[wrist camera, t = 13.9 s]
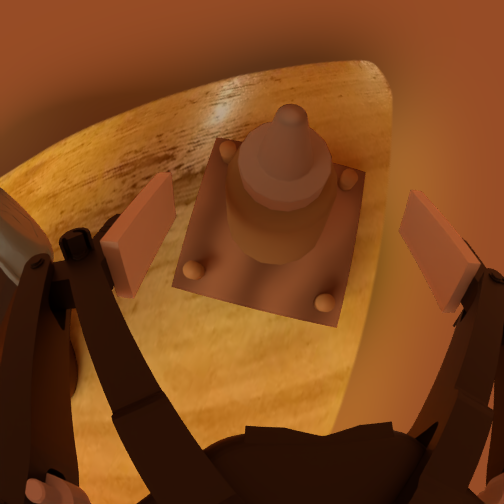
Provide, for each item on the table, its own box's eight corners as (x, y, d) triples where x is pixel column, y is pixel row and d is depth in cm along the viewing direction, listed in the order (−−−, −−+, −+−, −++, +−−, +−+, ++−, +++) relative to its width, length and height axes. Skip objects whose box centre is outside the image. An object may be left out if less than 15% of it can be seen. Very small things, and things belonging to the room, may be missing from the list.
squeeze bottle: (255, 284, 27) (242, 260, 10) (217, 208, 29) (158, 89, 11) (331, 245, 28) (428, 166, 10) (291, 173, 29) (320, 33, 11)
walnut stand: (188, 288, 34) (165, 285, 26) (223, 163, 36) (214, 127, 28) (322, 322, 33) (342, 329, 24) (349, 192, 35) (371, 164, 27)
